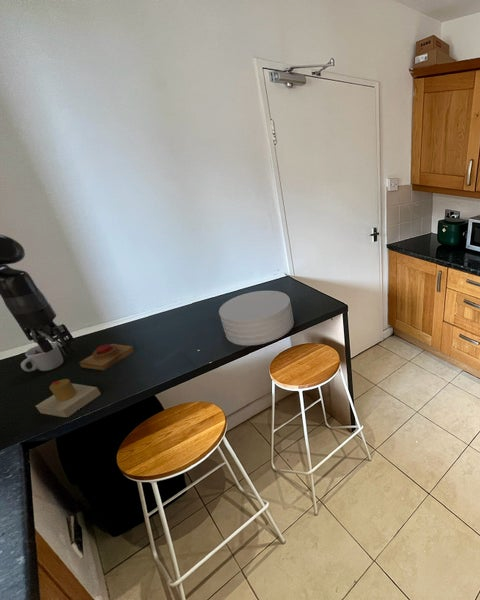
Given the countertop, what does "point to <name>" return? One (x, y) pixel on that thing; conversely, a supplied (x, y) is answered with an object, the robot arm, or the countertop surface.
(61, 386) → the lock knob
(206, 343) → the countertop surface
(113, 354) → the button block
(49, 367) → the cup
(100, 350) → the button
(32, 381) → the countertop surface
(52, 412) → the panel
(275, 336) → the plate stack
